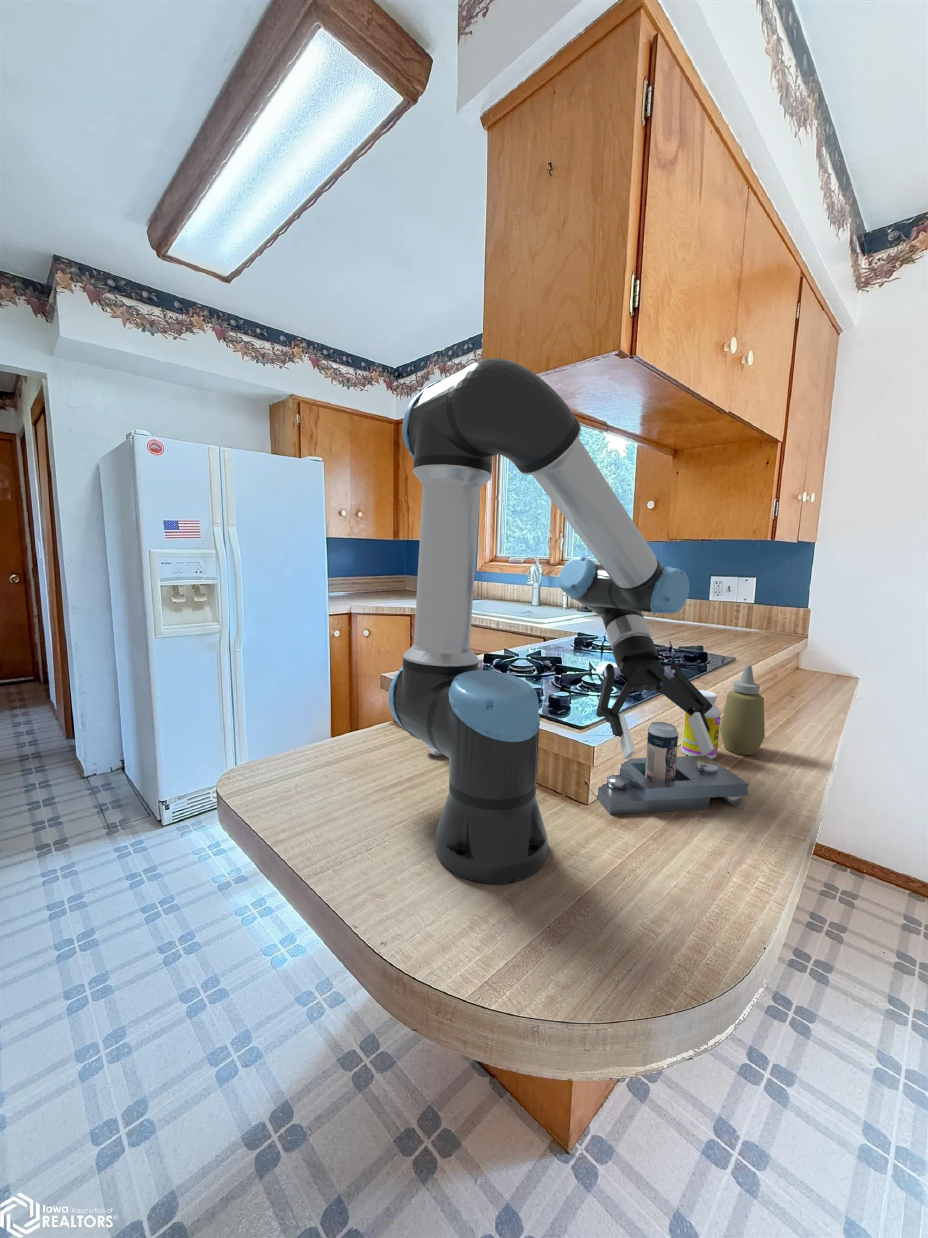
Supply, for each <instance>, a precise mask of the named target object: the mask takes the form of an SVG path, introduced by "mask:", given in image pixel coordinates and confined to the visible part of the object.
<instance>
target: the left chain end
mask: <svg viewBox="0 0 928 1238" xmlns="http://www.w3.org/2000/svg"><path fill="white" fill-rule="evenodd" d="M643 775H644V776H645V774H643ZM675 781H677V780H676V779H675ZM596 799H597V800H598V802H599V803H600V804H601V805H602V806H603V808H604V809H605V810H606V811H607V812H608V814H609V815H625V814H626V815H628V814H629V815H630V814H644V813H645V814H646V813H647V814H648V813H663V812H681V811H682V812H683V811H701V810H710V801H711V800H710V799H711V797H709V798H689V799H670V800H650V801H644V800H643V799H642V798H641V797H640V796H639V795H638V794H637V793H636V792H635V791H634V790H633V789H632V787H631V786H630V785H629V784H628V783H627V779H626V778H625V777H623V776H620V775H611V776H609V777H607V783H606V784H603V785H602V786H601V787H599V788H598V795H597V797H596Z"/></svg>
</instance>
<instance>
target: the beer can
mask: <svg viewBox="0 0 928 1238" xmlns="http://www.w3.org/2000/svg"><path fill="white" fill-rule="evenodd" d="M678 742H679V732H678V730H677V727H676V725H674V724H672V723H669V722H665V721H664V722H663V721H654V722H651V723H650V725H649V726H648V728H647V742H646V753H645V755H646V757H645V758H646V768H645V777H646V778H647V779H648V780H649V781H650V782H665V781H675V770H676V757H678V756H677V753H678Z"/></svg>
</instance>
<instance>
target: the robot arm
mask: <svg viewBox="0 0 928 1238" xmlns="http://www.w3.org/2000/svg"><path fill="white" fill-rule="evenodd" d="M401 429H402V438H403V442H404V445H405V448H406V450H408V451H409V453H410V457H411V458H412V459H413V470H412V471H413V472H412V473H413V474H414V476H415V477H416V478H417V479H418V480H419V482H420V483H421V485H422V491H421V492H422V493H421V495H422V496H421V497H422V498H421V509H420V510H421V512H420V528H419V529H420V531H419V546H418V547H419V548H418V564H417V565H418V566H417V567H418V568H417V583H416V585H417V586H416V599H415V618H414V636H413V644H412V645H411V647H409V649H408V650H407V651H405V652H404V653H403V655H402V666H401V667H400V668H399V669H398V672H397V674H395V675H394V676H393V678H392V680H391V682H390V684H389V688H388V704H389V705H388V706H389V709H390V712H391V715H392V716H393V719H394V720H395V721H396V723H397V724H398V725H399V726H400V727H402V729H403V730H404V731H406V732H407V733H408V734H409V735H410V736H411V737H413V738H415V739H417V740H420V741H422V742H423V743H424V744H425V743H427V744H428V745H430V746H431V747H433V748H435V749H436V750H438V751H439V752H441V753H442V754H443V755H444V756H445V757H447V758H448V759H449V760H448V761H449V763H448V765H449V767H448V768H449V769H448V770H449V771H448V772H449V773H448V775H449V776H448V779H449V780H448V785H449V786H448V794H447V797H446V800H445V802H444V806H443V809H442V811H441V813H440V817H439V820H438V822H437V826H436V828H435V829H436V830H435V842H434V843H435V853H436V856H437V858H438V860H439V861H440V863H441V864H442V865H443V866H444V867H445V868H446V869H447V870H448V871H450V872H451V873H454V875H457V876H459V877H460V878H463V879H466V880H469V881H473V882H476V883H477V882H478V883H482V884H483V883H484V884H507V883H513V882H517V881H521V880H524V879H526V878H528V877H530V876H533V874H535V873H537V872H538V871H539V870H540V869H541V868H542V867H543V865H544V864H545V862H546V859H547V855H548V854H547V853H548V835H547V830H546V827H545V824H544V819H543V816H542V814H541V810H540V806H539V803H538V801H537V797H536V795H537V794H536V793H537V775H538V774H537V773H538V756H539V741H540V739H539V738H540V725H541V724H540V723H541V717H540V712H539V711H540V709H539V697H538V693H537V691H536V690H535V689H534V688H533V686H532V685H531V684H529V683H528V682H527V680H524V679H522V678H520V677H518V676H516V675H513V674H509V673H507V672H496V671H495V670H486V669H485V670H484V669H480V670H479V662H480V659H479V657H478V656H477V655H476V654H475V653H474V651H473V650H472V649H471V646H470V645H471V633H472V618H473V617H472V616H473V603H474V602H473V601H474V588H475V586H474V585H475V572H476V559H477V558H476V557H477V542H478V528H479V526H478V525H479V515H480V514H479V513H480V512H479V511H480V498H481V496H480V495H481V491H482V488H483V487H484V486H485V485H486V484H487V483H488V482H490V480H491V479H492V472H493V460H494V459H493V458H494V456H496V455H497V456H498V455H499V456H501V457H504V458H506V459H508V460H509V461H511V462H512V463H513V464H514V466H515V467H516V469H517V470H518V471H519V472H520V474H522V475H525V476H533V477H534V479H535V481H536V482H537V484H539V485H540V487H541V489H542V490H543V491H544V492H545V493H546V495H547V496H548V498H550V500H551V501H552V503H553V505H555V507H556V509H558V510H559V512H560V513H561V515H562V516H563V517H564V518H565V519H566V521H567V522H568V524H569V525H570V527H571V528H572V529H573V531H574V532H575V533H576V535H578V537H579V538H580V539H581V541H582V542H583V544H584V545H585V546H586V547H587V548H588V550H589V551H590V553H591V554H592V555H593V557H594V558H595V559H596V560H597V562H598V563H599V564H596V562H595V561H594V560H592V559H589V558H587V557H586V556H582V555H579V556H574V557H572V558H571V559H569V560H568V561H566V563H565V564H563V566H562V567H561V569H560V572H559V575H558V581H557V582H558V586H559V588H560V589H561V591H562V592H563V593H565V594H566V595H568V597H569V598H571V599H572V600H575V601H576V602H578V603H579V604H581V605H583V606H584V607H586V608H587V609H590V610H591V611H592V612H594V613H595V614H597V615H599V617H600V618H601V620H602V622H603V626H604V628H605V632H606V634H607V638H608V641H609V644H610V648H611V649H612V655H613V659H614V662H615V665H616V666H614V665H613V663H607V664H606V666H605V667H604V669H603V671H602V677H603V678H602V680H603V683H602V687H601V691H600V695H599V699H598V703H597V708H596V712H595V715H596V717H598V718H605V721H606V723H609V726H610V728H611V731H612V735H613V736H614V735H615V736H619V737H621V740H619V743H620V746H621V750H622V753H623V757H624V758H623V759H629V758H631V757H632V756H633V755H634V754H635V752H636V750H635V745H634V743H633V740H632V736H631V732H630V730H629V726H628V722H627V720H626V716H625V714H624V713H620V711H621V710H622V707H623V705H624V704H625V702H626V700H627V699H628V698H629V695H630V693H631V692H632V690H635V691H636V692H642V691H643V692H644V691H647V692H653V691H656V693H658V694H661V695H663V696H664V697H666V698H667V699H669V700H670V701H671V702H672V703H674V704H675V705H676V706H678V707H679V708H680V709H681V710H683V712H684V711H685V712H686V713H688V714H689V715H690V716H691V717H690V718H689V719H688V721H689V723H690V726H691V728H692V731H693V734H694V736H695V739H696V741H697V744H698V747H699V749H700V752H701V754H702V755H707V754H708V753H709V752H711V751H712V750H713V749H714V747H713V744H712V742H711V739H710V737H709V734H708V732H709V731H710V727H709V725H708V723H707V720H706V718H705V715H704V714H705V713H707V712H708V711H709V710H710V709H711V708H712V704H711V703H710V702H709V701H708V700H707V699H706V698H705V697H704V696H703V695H702V694H701V692H700V691H699V690H700V689H698V688H697V687H696V686H695V685H694V684H693V683H692V682H691V680H690V679H688V678H687V676H686V675H684V673H683V671H682V670H681V668H680V666H679V664H678V663H676V662H673V663H672V664H671V665H669V666H663V665H662V663H660V658H659V653H658V651H657V647H656V645H655V643H654V639H652V634H651V632H650V629H649V627H648V624H647V622H646V619H645V616H644V614H643V612H644V613H651V614H652V615H653V614H654V615H655V614H666V615H672V614H676V613H678V612H680V611H681V610H682V609H683V607H684V606H685V604H686V601H687V600H688V597H689V593H690V580H689V578H688V576H687V574H686V572H685V571H683V570H681V569H680V568H677V567H676V568H675V567H672V566H666V567H665V566H662V564H661V562H660V561H659V560H658V558H657V557H656V554H654V552H653V550H652V549H651V547H650V546H649V544H648V543H647V541H646V539H645V538H644V536H643V535H642V533H641V532H640V530H639V529H638V526H637V525H636V524H635V522H634V521H633V519H632V518H631V516H630V514H628V511H627V510H626V509H625V507H624V506H623V504H622V502H621V501H620V499H619V497H618V495H616V493H615V492H614V490H613V489H612V487H611V486H610V484H609V482H608V481H607V480H606V478H605V476H604V475H603V473H602V472H601V470H600V468H599V467H598V465H597V464H596V462H595V461H594V459H593V457H592V456H591V454H590V453H589V451H588V449H586V447H585V446H584V444H583V442H582V441H581V439H580V436H581V433H582V426H581V423H580V422H579V420H578V419H577V417H576V416H575V414H574V413H573V412H572V410H571V408H570V407H569V406H568V404H567V403H566V402H565V400H564V399H563V398H562V397H561V395H560V394H559V393H558V392H557V391H555V389H554V388H553V387H551V386H550V385H549V384H548V383H547V382H546V381H545V380H544V379H542V378H541V377H540V376H538V375H537V374H536V373H535V372H533V371H532V370H531V369H529V368H526V367H525V366H523V365H522V364H519V363H517V362H514V361H513V360H509V359H503V358H498V357H497V358H484V359H481V360H478V361H476V362H473V363H471V364H470V365H468V366H466V367H465V368H463V369H461V370H460V371H458V372H456V373H454V374H452V375H450V376H448V377H446V378H444V379H442V380H438V381H435V382H433V383H430V384H429V385H426V387H424V388H423V390H422V391H420V392H419V393H418V394H416V395H415V396H414V397H413V399H411V401H410V403H409V404H408V406H407V407H406V410H405V412H404V416H403V420H402V428H401ZM617 676H618V677H619V678H620V679H621V680H622V681H624V682H625V684H624V685H623V687H622V689H621V690H620V693H619V694H618V696H617V698H616V700H615V701H614V703H613V704H612V706H611V707H609V704H610V701H611V700H610V699H611V695H612V691H613V688H614V687H613V686H614V684H615V679H616V678H617ZM661 684H662V685H661ZM619 713H620V714H619ZM615 736H614V737H615ZM619 737H618V738H619Z"/></svg>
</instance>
